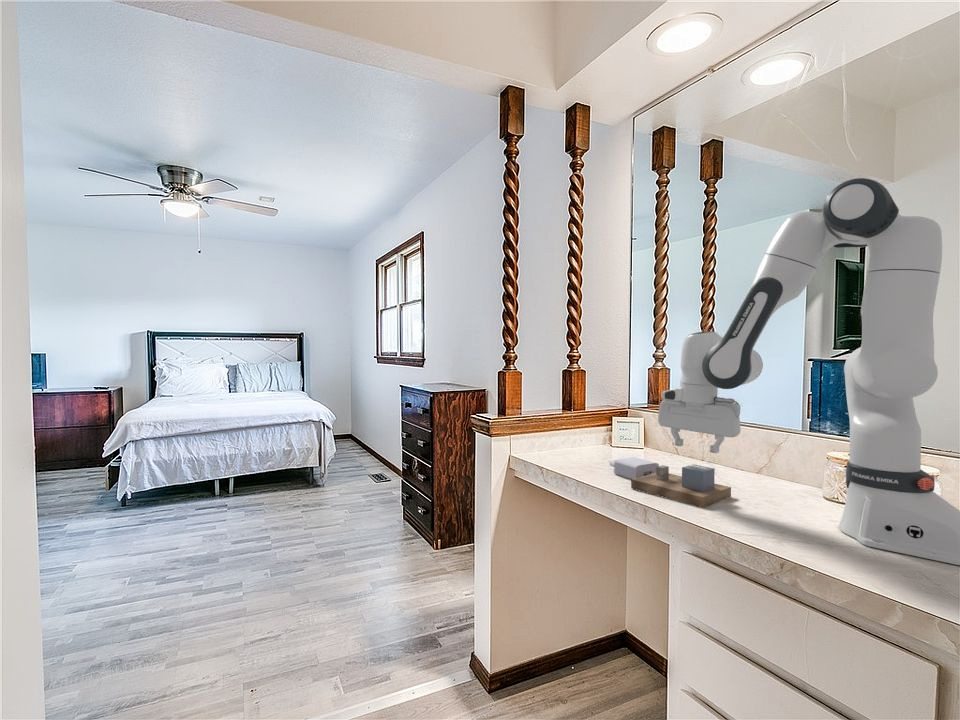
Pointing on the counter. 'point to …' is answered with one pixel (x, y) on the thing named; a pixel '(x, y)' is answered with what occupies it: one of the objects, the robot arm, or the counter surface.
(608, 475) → the counter surface
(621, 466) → the charger
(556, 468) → the counter surface
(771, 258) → the robot arm
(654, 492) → the board
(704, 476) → the blue-grey cube block
